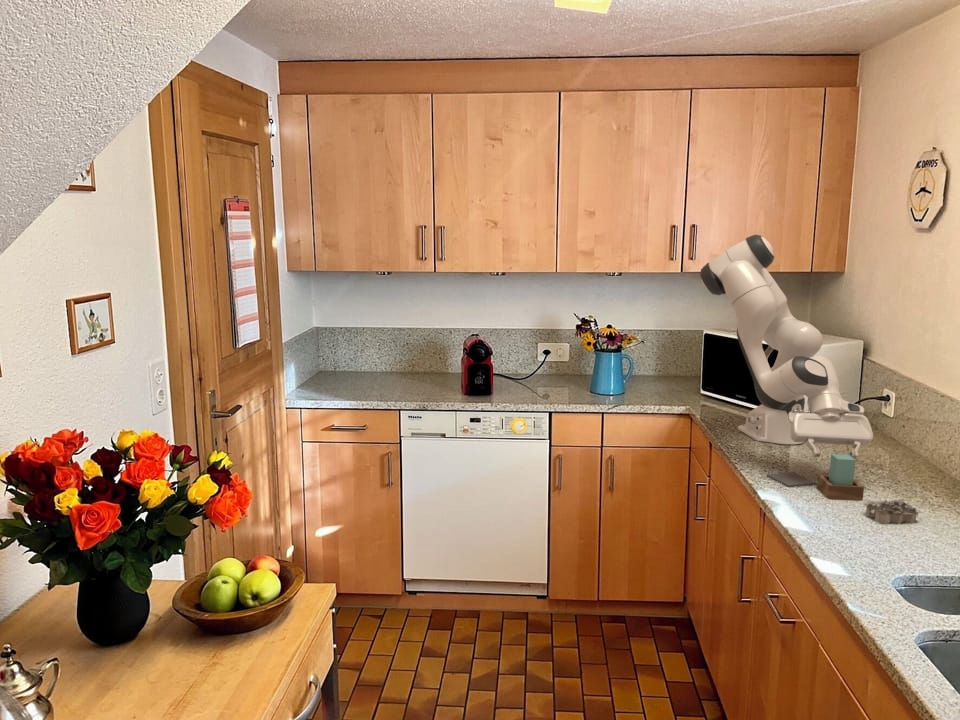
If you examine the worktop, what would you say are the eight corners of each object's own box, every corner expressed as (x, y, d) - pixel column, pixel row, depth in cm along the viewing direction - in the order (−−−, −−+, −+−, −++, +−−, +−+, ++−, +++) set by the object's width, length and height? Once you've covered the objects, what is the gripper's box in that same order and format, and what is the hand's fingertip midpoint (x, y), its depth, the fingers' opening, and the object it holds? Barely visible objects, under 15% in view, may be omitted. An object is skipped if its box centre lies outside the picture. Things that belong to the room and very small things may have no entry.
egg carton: (879, 525, 178) (881, 509, 177) (859, 513, 185) (861, 497, 185) (921, 524, 179) (923, 507, 178) (900, 512, 187) (902, 496, 186)
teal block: (827, 490, 200) (831, 453, 198) (844, 491, 200) (848, 454, 198) (833, 496, 196) (837, 459, 194) (851, 497, 195) (855, 459, 194)
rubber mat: (766, 476, 210) (766, 474, 210) (793, 473, 213) (793, 471, 213) (788, 487, 202) (789, 485, 202) (816, 484, 205) (816, 482, 204)
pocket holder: (816, 487, 202) (818, 474, 202) (849, 489, 201) (851, 476, 201) (828, 498, 194) (829, 485, 193) (862, 500, 193) (864, 487, 193)
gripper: (790, 403, 205) (797, 448, 198) (869, 407, 203) (880, 453, 196) (783, 415, 211) (790, 460, 203) (861, 419, 209) (871, 464, 201)
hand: (835, 456), depth 199 cm, fingers open, 8 cm apart
